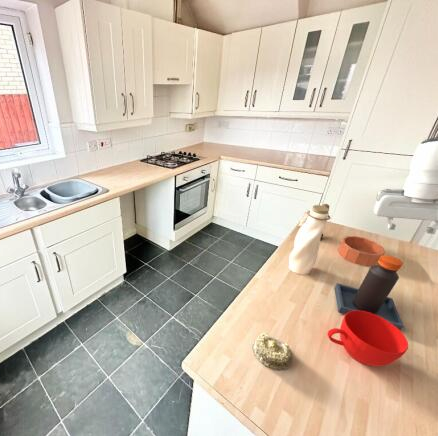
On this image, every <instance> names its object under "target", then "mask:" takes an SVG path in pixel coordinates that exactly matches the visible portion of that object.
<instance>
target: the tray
mask: <svg viewBox="0 0 438 436" xmlns="http://www.w3.org/2000/svg"><path fill="white" fill-rule="evenodd" d="M358 289H359V288H356V287H352V286H349V285H345V284H341V283H339V282H336V284H335V286H334V294H335V299H336V306H337V307H336V308H337V312H338V313H339V314H342V315H344V316H345V315H346V314H347V313H348V312H350V311H354V310H359V309H357V308H356V307H355V306H354V305H353V298H354V296H355V295H356V293H357V291H358ZM360 311H361V310H360ZM375 315H377V316H380V317H382V318H383V319H385V320H387V321H388V322H390V323H391V324H393V325H394V326H395V327H397V328H398V329H399V330H400V331H401V332H402V330H403V329H404V328H405V325H404V323H403V320H402V318H401V315H400V313H399V311H398V308H397V306H396V304H395V301H394V299H393V298H392V297H389V296H387V298H386V300H385V301H384V303H383V304H382V306H381V307H380V309H379V311H378V312H377V313H375Z"/></svg>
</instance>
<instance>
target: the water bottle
mask: <svg viewBox="0 0 438 436" xmlns="http://www.w3.org/2000/svg"><path fill="white" fill-rule="evenodd" d="M329 212H330V208H329V209H328V208H327V207H325V206H322V204H320V205H319V204H315V205H313V206H312V208H311V209H308V208H307V209H305V211H304V213H303V215H302V217H301V219H300V221H299V223H298V226H300V228H299V230H298V232H297V233H296V236H295V239H294V242H293V243H294V244H293V250H292V251H291V253H290V254H289V259H288V268H289V270H290V271H292V272H293V273H295V274H297V275H301V276H308V275H309V274H310V273H311V270H312V269H313V267H314V265H315V264H316V261H317V258H318V255H319V252H320V251H319V250H320V245H321V240H320V238H321V235H322V233H323V232H324V230H325V227H326V224H327V221H329V220H331V216H330V215H329Z"/></svg>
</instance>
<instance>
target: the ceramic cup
mask: <svg viewBox="0 0 438 436" xmlns="http://www.w3.org/2000/svg"><path fill="white" fill-rule="evenodd" d="M335 334H339V337H340V340H339V339H336V338H333V335H335ZM327 337H328V339H329V340H330V341H331V342H332V343H334V344H336V345H339V346H343V348H344V350H345V351H346V353H347V354H348V355H349V356H350V357H351V358H352V359H353V360H355V361H356V362H358V363H360V364H363V365H366V366H372V367H383V366H388V365H391V364H394V363H395V362H396V361H398V360H399V359H400V358H402V357H403V355H405V354H406V353H407V351H408V349H409V343H408V342H409V341H408V340H407V338H406V336H405V335H404V333H403V332H402V331H400V330H399V329H398V328H397V327H395V326H394V325H393V324H391V323H390V322H388V321H387V320H385V319H383V318H382V317H380V316H377V315H375V314H372V313H369V312H366V311H360V310H354V311H350V312H348V313H347V314H346V315H345V314H344V316H343V318H342V321H341V324H340V328H338V327H337V328H336V327H335V328H330V329H329V330H328V331H327Z"/></svg>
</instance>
